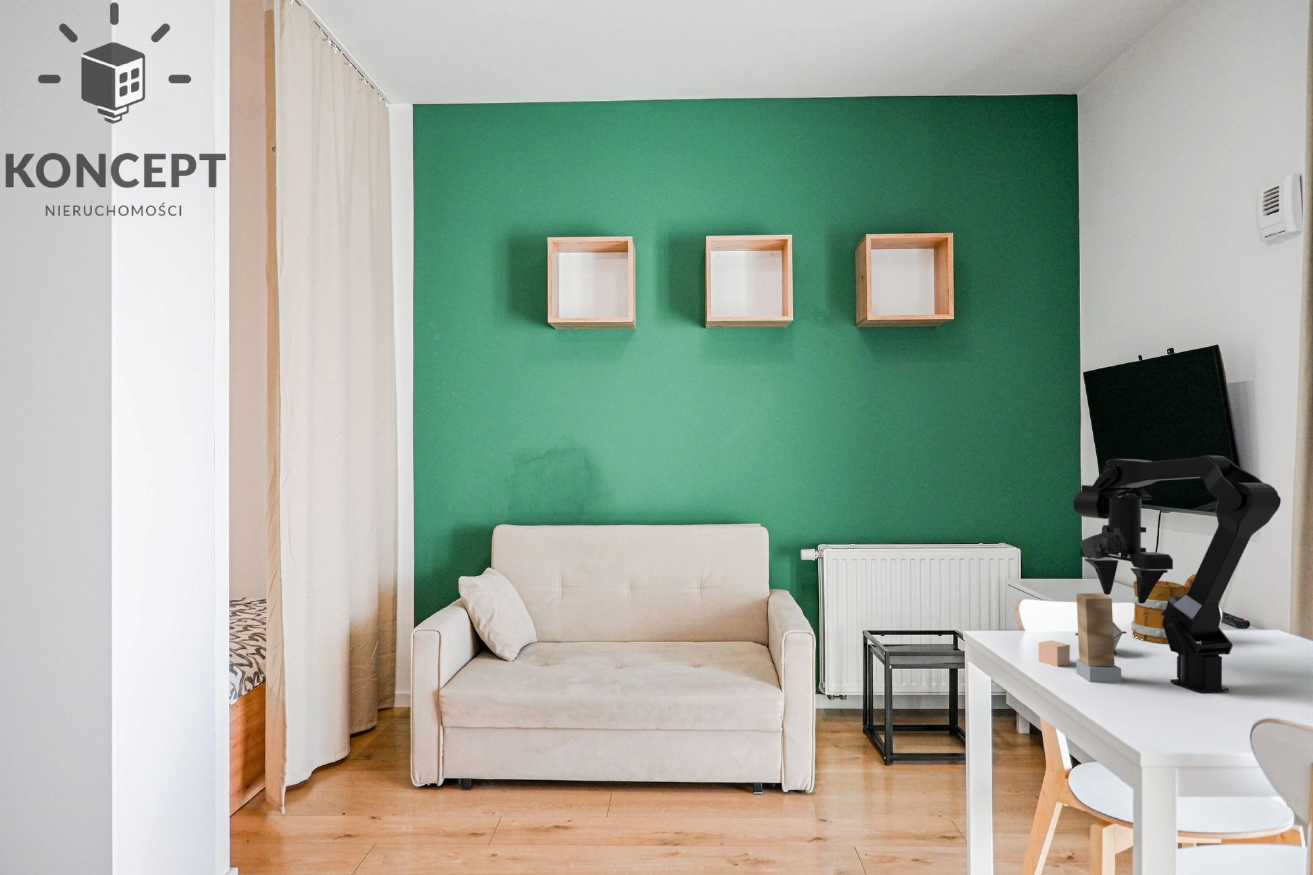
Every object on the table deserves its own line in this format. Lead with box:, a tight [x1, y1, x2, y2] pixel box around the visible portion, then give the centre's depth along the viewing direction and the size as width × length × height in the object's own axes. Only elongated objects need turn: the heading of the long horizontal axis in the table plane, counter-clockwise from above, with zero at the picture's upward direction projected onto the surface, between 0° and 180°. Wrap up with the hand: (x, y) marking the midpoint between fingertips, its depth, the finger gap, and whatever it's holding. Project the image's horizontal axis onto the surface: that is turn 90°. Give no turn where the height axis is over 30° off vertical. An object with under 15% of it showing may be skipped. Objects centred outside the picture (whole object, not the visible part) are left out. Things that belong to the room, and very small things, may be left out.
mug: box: [1130, 573, 1196, 645], centre depth 180 cm, size 11×16×15 cm, turn 88°
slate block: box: [1075, 659, 1122, 684], centre depth 147 cm, size 6×6×3 cm
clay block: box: [1038, 640, 1071, 667], centre depth 158 cm, size 4×4×4 cm
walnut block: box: [1076, 592, 1116, 666], centre depth 147 cm, size 4×4×12 cm
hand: (1123, 598), depth 158 cm, fingers open, 9 cm apart
